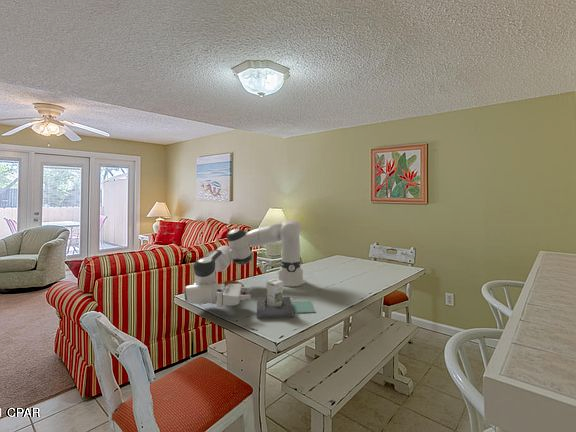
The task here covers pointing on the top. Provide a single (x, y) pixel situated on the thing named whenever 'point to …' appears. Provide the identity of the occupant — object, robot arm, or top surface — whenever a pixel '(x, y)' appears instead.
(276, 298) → the syrup box
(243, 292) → the croissant
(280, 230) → the robot arm
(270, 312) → the iron collar
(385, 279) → the top surface
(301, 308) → the rubber mat
